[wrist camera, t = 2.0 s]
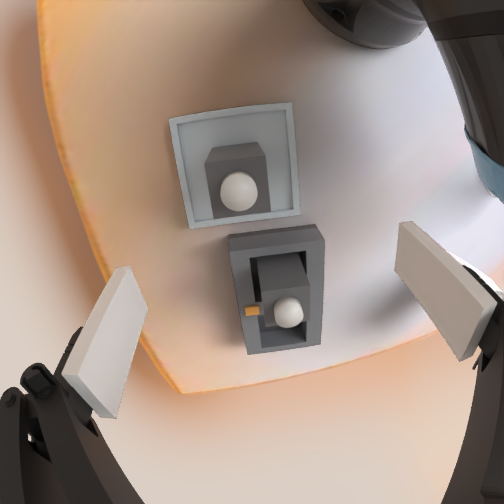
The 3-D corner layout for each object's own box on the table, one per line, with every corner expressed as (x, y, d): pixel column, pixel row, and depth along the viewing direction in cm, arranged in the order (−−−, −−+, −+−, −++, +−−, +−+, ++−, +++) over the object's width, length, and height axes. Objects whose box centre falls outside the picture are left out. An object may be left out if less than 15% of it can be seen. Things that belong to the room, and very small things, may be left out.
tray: (171, 118, 26) (168, 118, 25) (289, 102, 26) (292, 102, 25) (191, 223, 32) (189, 229, 31) (297, 210, 32) (300, 214, 31)
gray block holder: (229, 234, 33) (227, 289, 24) (315, 224, 33) (344, 273, 24) (246, 334, 41) (250, 393, 32) (314, 324, 41) (331, 381, 32)
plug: (212, 147, 27) (201, 167, 19) (257, 141, 27) (267, 158, 19) (218, 189, 29) (212, 227, 21) (261, 184, 29) (273, 219, 21)
